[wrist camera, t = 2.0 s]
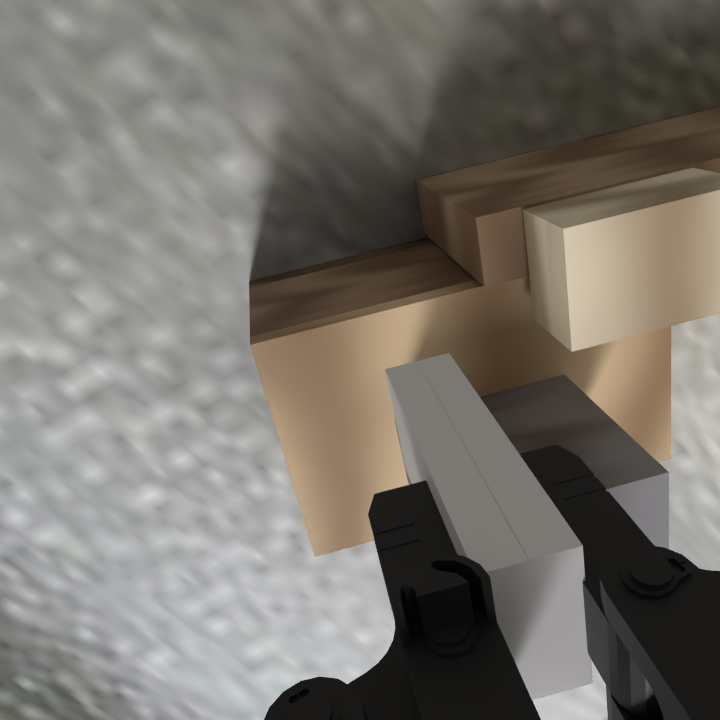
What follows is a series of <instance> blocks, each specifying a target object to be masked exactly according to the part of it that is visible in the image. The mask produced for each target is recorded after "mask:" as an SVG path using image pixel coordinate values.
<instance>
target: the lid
mask: <svg viewBox="0 0 720 720" xmlns="http://www.w3.org/2000/svg"><path fill="white" fill-rule="evenodd" d="M250 345H251V349H252V352H253V355H254V359H255V362H256V365H257V368H258V372H259V375H260V378H261V382H262V385H263V388H264V391H265V395H266V398H267V401H268V404H269V408H270V411H271V414H272V418H273V421H274V424H275V427H276V431H277V434H278V437H279V441H280V444H281V447H282V450H283V454H284V457H285V460H286V464H287V467H288V470H289V473H290V477H291V480H292V483H293V486H294V490H295V493H296V496H297V500H298V503H299V506H300V509H301V513H302V516H303V519H304V523H305V526H306V529H307V532H308V536H309V539H310V542H311V545H312V549H313V552H314V555H315V557H316V556H319V555H323V554H327V553H330V552H334V551H338V550H341V549H345V548H348V547H352V546H356V545H359V544H363V543H367V542H370V541H374V536H373V532H372V528H371V524H370V520H369V516H368V512H369V509H370V506H371V503H372V500H373V496H374V494H376V493H379V492H383V491H387V490H391V489H395V488H398V487H402V486H406V485H410V484H411V481H410V478H409V476H408V473H407V471H406V468H405V463H404V458H403V454H402V449H401V444H400V439H399V435H398V430H397V425H396V420H395V416H394V411H393V406H392V401H391V396H390V392H389V387H388V382H387V377H386V373H385V369H388V368H392V367H396V366H400V365H404V364H408V363H412V362H415V361H419V360H423V359H427V358H431V357H435V356H439V355H443V354H447V353H449V354H450V355H451V356H452V358H453V359H454V361H455V362H456V364H457V365H458V367H459V368H460V369H461V371H462V372H463V374H464V375H465V377H466V378H467V379H468V381H469V382H470V384H471V385H472V387H473V388H474V390H475V391H476V392H477V394H478V395H479V397H480V398H481V400H482V401H483V403H484V404H485V405H486V407H487V408H488V410H489V411H490V413H491V414H492V415H493V417H494V418H495V420H496V421H497V423H498V424H499V426H500V427H501V428H502V430H503V431H504V433H505V434H506V436H507V437H508V439H509V440H510V441H511V443H512V444H513V446H514V447H515V449H516V450H517V452H518V453H519V454H521V453H524V452H528V451H532V450H536V449H540V448H543V447H547V446H551V445H555V444H556V445H558V446H560V447H562V448H564V449H566V450H568V451H570V452H572V453H574V454H575V455H577V456H579V457H580V458H581V459H582V461H583V462H584V463H585V464H586V465H587V466H588V468H589V469H590V470H591V471H592V472H593V474H594V477H597V478H598V479H599V481H600V482H601V483H602V484H603V485H604V487H605V488H606V491H609V492H610V494H611V495H612V496H613V497H614V498H615V500H616V501H617V502H618V503H619V504H620V505H621V507H622V508H623V509H624V510H625V511H626V513H627V514H628V515H629V516H630V517H631V518H632V520H633V521H634V522H635V523H636V524H637V526H638V527H639V528H640V529H641V530H642V532H643V533H644V534H645V535H646V536H647V537H648V539H649V540H650V541H651V542H652V543H653V544H654V545H655V546H657V547H664V548H667V549H669V472H668V471H667V470H666V469H665V468H664V467H663V466H662V465H660V464H659V463H658V462H661V461H664V460H668V459H671V326H669V327H665V328H661V329H657V330H653V331H650V332H646V333H642V334H638V335H634V336H630V337H627V338H623V339H619V340H615V341H611V342H608V343H604V344H600V345H596V346H592V347H588V348H585V349H581V350H577V351H573V352H571V351H570V350H569V349H568V348H567V347H565V346H564V345H563V344H562V343H561V342H560V341H558V340H557V339H556V338H555V337H554V336H553V335H551V334H550V333H549V332H548V331H547V330H545V329H544V328H543V327H542V326H541V325H540V324H538V323H537V322H536V321H535V320H534V318H533V308H532V297H531V287H530V276H527V277H523V278H519V279H515V280H511V281H507V282H503V283H499V284H495V285H492V286H488V287H484V286H483V285H482V284H481V283H479V282H478V281H477V280H473V281H469V282H465V283H461V284H457V285H453V286H449V287H445V288H441V289H437V290H433V291H429V292H425V293H421V294H417V295H413V296H409V297H405V298H401V299H397V300H393V301H389V302H385V303H381V304H378V305H374V306H370V307H366V308H362V309H358V310H354V311H350V312H346V313H342V314H338V315H334V316H330V317H326V318H322V319H318V320H314V321H310V322H306V323H302V324H298V325H294V326H290V327H286V328H282V329H279V330H275V331H271V332H267V333H263V334H259V335H255V336H251V337H250Z"/></svg>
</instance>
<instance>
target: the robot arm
mask: <svg viewBox="0 0 720 720" xmlns="http://www.w3.org/2000/svg"><path fill="white" fill-rule="evenodd" d="M385 373H386V377H387V382H388V387H389V392H390V396H391V401H392V406H393V411H394V416H395V420H396V425H397V430H398V435H399V439H400V444H401V449H402V454H403V458H404V463H405V468H406V471H407V473H408V476H409V478H410V481H411V484H410V485H406V486H402V487H398V488H395V489H391V490H387V491H383V492H379V493H376V494H374V496H373V500H372V503H371V506H370V509H369V512H368V516H369V520H370V524H371V528H372V532H373V536H374V540H375V544H376V548H377V552H378V556H379V560H380V564H381V568H382V572H383V576H384V580H385V584H386V588H387V592H388V596H389V600H390V604H391V608H392V611H393V615H394V619H395V628H396V629H395V634H394V639H393V642H392V644H391V646H390V648H389V650H388V652H387V653H386V654H385V656H384V657H383V658H382V659H381V660H380V662H379V663H378V664H377V665H375V666H374V667H373V668H371V669H370V670H369V671H368V672H366V673H365V674H363V675H362V676H360V677H358V678H357V679H355V680H354V681H352V682H350V683H349V684H346V683H344V682H342V681H341V680H339V679H335V678H327V677H316V678H312V679H308V680H304V681H300V682H299V683H297V684H295V685H294V686H292V687H291V688H289V689H287V690H286V691H284V692H283V693H282V694H281V695H280V696H279V697H278V698H277V700H276V701H275V702H274V703H273V704H272V705H271V706H270V708H269V710H268V712H267V714H266V717H265V719H264V720H541V719H540V717H539V715H538V712H537V710H536V708H535V706H534V704H533V701H532V700H534V699H537V698H541V697H544V696H548V695H552V694H555V693H559V692H562V691H566V690H569V689H573V688H576V687H580V686H583V685H587V684H590V683H593V680H592V666H591V659H592V661H593V663H594V665H595V666H596V668H597V670H598V672H599V673H600V675H601V677H602V679H603V680H604V682H605V684H606V692H607V710H608V720H720V571H709V570H703V569H699V568H698V567H697V566H696V565H694V564H693V563H692V562H691V561H689V560H688V559H687V558H686V557H684V556H683V555H681V554H679V553H676V552H674V551H672V550H669V549H667V548H664V547H657V546H655V545H654V544H653V543H652V542H651V541H650V540H649V539H648V537H647V536H646V535H645V534H644V533H643V532H642V530H641V529H640V528H639V527H638V526H637V524H636V523H635V522H634V521H633V520H632V518H631V517H630V516H629V515H628V514H627V513H626V511H625V510H624V509H623V508H622V507H621V505H620V504H619V503H618V502H617V501H616V500H615V498H614V497H613V496H612V495H611V494H610V492H609V491H606V488H605V487H604V485H603V484H602V483H601V482H600V481H599V479H598V478H597V477H594V474H593V472H592V471H591V470H590V469H589V468H588V466H587V465H586V464H585V463H584V462H583V461H582V459H581V458H580V457H579V456H577V455H575V454H574V453H572V452H570V451H568V450H566V449H564V448H562V447H560V446H558V445H556V444H555V445H551V446H547V447H543V448H540V449H536V450H532V451H528V452H524V453H521V454H519V453H518V452H517V450H516V449H515V447H514V446H513V444H512V443H511V441H510V440H509V439H508V437H507V436H506V434H505V433H504V431H503V430H502V428H501V427H500V426H499V424H498V423H497V421H496V420H495V418H494V417H493V415H492V414H491V413H490V411H489V410H488V408H487V407H486V405H485V404H484V403H483V401H482V400H481V398H480V397H479V395H478V394H477V392H476V391H475V390H474V388H473V387H472V385H471V384H470V382H469V381H468V379H467V378H466V377H465V375H464V374H463V372H462V371H461V369H460V368H459V367H458V365H457V364H456V362H455V361H454V359H453V358H452V356H451V355H450V354H449V353H447V354H443V355H439V356H435V357H431V358H427V359H423V360H419V361H415V362H412V363H408V364H404V365H400V366H396V367H392V368H388V369H385Z"/></svg>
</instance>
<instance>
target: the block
mask: <svg viewBox="0 0 720 720" xmlns="http://www.w3.org/2000/svg"><path fill="white" fill-rule="evenodd" d="M523 214H524V224H525V235H526V245H527V256H528V266H529V276H530V287H531V297H532V308H533V318H534V320H535V321H536V322H537V323H538V324H540V325H541V326H542V327H543V328H544V329H545V330H547V331H548V332H549V333H550V334H551V335H553V336H554V337H555V338H556V339H557V340H558V341H560V342H561V343H562V344H563V345H564V346H565V347H567V348H568V349H569V350H570V351H571V352H573V351H577V350H581V349H585V348H588V347H592V346H596V345H600V344H604V343H608V342H611V341H615V340H619V339H623V338H627V337H630V336H634V335H638V334H642V333H646V332H650V331H653V330H657V329H661V328H665V327H669V326H672V325H676V324H680V323H684V322H688V321H692V320H695V319H699V318H703V317H707V316H711V315H714V314H718V313H720V173H716V172H711V171H706V170H702V169H697V168H689V169H685V170H681V171H677V172H673V173H669V174H665V175H661V176H657V177H653V178H649V179H645V180H641V181H637V182H632V183H628V184H624V185H620V186H616V187H612V188H608V189H604V190H600V191H596V192H592V193H588V194H584V195H580V196H576V197H572V198H568V199H564V200H560V201H555V202H551V203H547V204H543V205H539V206H535V207H531V208H527V209H523Z"/></svg>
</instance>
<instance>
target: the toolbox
mask: <svg viewBox="0 0 720 720" xmlns="http://www.w3.org/2000/svg"><path fill="white" fill-rule="evenodd" d="M689 168H697V169H702V170H706V171H711V172H716V173H720V107H716V108H712V109H708V110H704V111H700V112H696V113H692V114H687V115H683V116H679V117H675V118H671V119H667V120H663V121H658V122H654V123H650V124H646V125H642V126H638V127H634V128H629V129H625V130H621V131H617V132H613V133H609V134H605V135H600V136H596V137H592V138H588V139H584V140H580V141H575V142H571V143H567V144H563V145H559V146H555V147H551V148H546V149H542V150H538V151H534V152H530V153H526V154H522V155H517V156H513V157H509V158H505V159H501V160H497V161H493V162H488V163H484V164H480V165H476V166H472V167H468V168H464V169H459V170H455V171H451V172H447V173H443V174H439V175H435V176H430V177H426V178H422V179H418V180H415V181H416V188H417V194H418V200H419V206H420V212H421V218H422V224H423V230H424V234H425V235H427V236H428V238H424V239H420V240H416V241H412V242H408V243H404V244H400V245H396V246H392V247H388V248H384V249H380V250H376V251H372V252H368V253H364V254H360V255H355V256H351V257H347V258H343V259H339V260H335V261H331V262H327V263H323V264H319V265H315V266H311V267H307V268H303V269H299V270H295V271H291V272H287V273H283V274H279V275H275V276H271V277H267V278H262V279H258V280H254V281H250V282H249V296H250V337H251V336H255V335H259V334H263V333H267V332H271V331H275V330H279V329H282V328H286V327H290V326H294V325H298V324H302V323H306V322H310V321H314V320H318V319H322V318H326V317H330V316H334V315H338V314H342V313H346V312H350V311H354V310H358V309H362V308H366V307H370V306H374V305H378V304H381V303H385V302H389V301H393V300H397V299H401V298H405V297H409V296H413V295H417V294H421V293H425V292H429V291H433V290H437V289H441V288H445V287H449V286H453V285H457V284H461V283H465V282H469V281H473V280H477V281H478V282H479V283H481V284H482V285H483V286H484V287H488V286H492V285H495V284H499V283H503V282H507V281H511V280H515V279H519V278H523V277H527V276H529V266H528V256H527V245H526V235H525V224H524V214H523V209H527V208H531V207H535V206H539V205H543V204H547V203H551V202H555V201H560V200H564V199H568V198H572V197H576V196H580V195H584V194H588V193H592V192H596V191H600V190H604V189H608V188H612V187H616V186H620V185H624V184H628V183H632V182H637V181H641V180H645V179H649V178H653V177H657V176H661V175H665V174H669V173H673V172H677V171H681V170H685V169H689Z"/></svg>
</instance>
